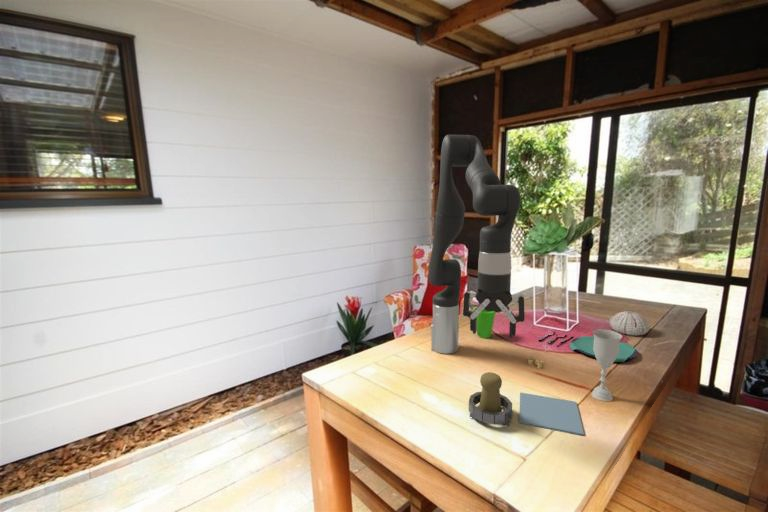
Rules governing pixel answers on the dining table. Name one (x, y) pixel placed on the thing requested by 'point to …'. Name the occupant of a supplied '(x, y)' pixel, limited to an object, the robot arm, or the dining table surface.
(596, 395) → the chalice
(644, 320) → the sea urchin shell
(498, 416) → the grey segmented ring
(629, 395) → the dining table surface
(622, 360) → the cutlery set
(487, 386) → the cork
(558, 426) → the rubber mat
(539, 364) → the dice set
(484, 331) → the cup
